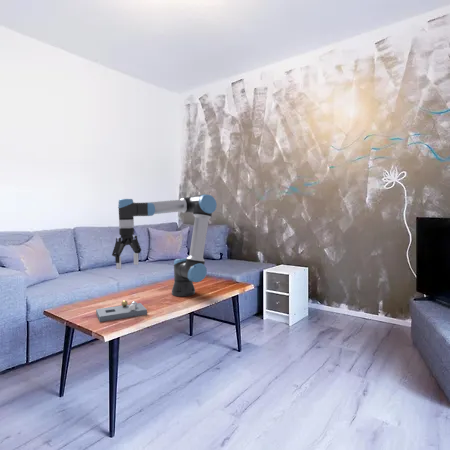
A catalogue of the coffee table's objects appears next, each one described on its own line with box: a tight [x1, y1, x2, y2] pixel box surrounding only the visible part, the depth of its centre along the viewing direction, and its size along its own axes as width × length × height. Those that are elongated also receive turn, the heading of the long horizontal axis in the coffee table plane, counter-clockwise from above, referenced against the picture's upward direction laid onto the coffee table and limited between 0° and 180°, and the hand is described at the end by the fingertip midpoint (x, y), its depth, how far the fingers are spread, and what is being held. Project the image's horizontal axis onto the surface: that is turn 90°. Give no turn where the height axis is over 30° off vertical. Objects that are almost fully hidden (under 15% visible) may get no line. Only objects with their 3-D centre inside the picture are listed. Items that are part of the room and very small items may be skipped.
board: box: [95, 302, 148, 323], centre depth 165 cm, size 23×14×2 cm, turn 118°
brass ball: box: [121, 299, 129, 306], centre depth 171 cm, size 3×3×3 cm
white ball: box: [129, 303, 136, 311], centre depth 163 cm, size 3×3×3 cm
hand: (127, 266), depth 172 cm, fingers open, 13 cm apart
